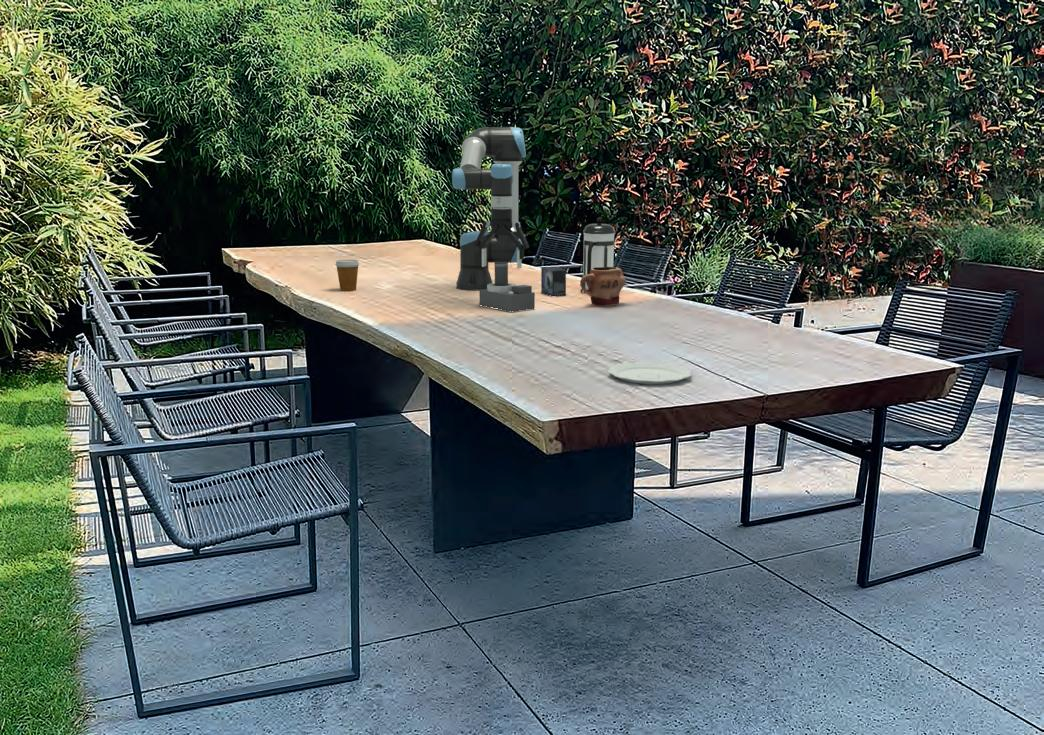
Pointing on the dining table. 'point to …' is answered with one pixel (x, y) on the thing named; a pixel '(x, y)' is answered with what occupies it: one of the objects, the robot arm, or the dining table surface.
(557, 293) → the small box
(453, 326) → the dining table surface
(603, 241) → the coffee press
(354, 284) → the disposable coffee cup
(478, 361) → the dining table surface
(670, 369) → the plate
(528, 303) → the camera body
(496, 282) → the lens
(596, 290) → the brown clay mug
